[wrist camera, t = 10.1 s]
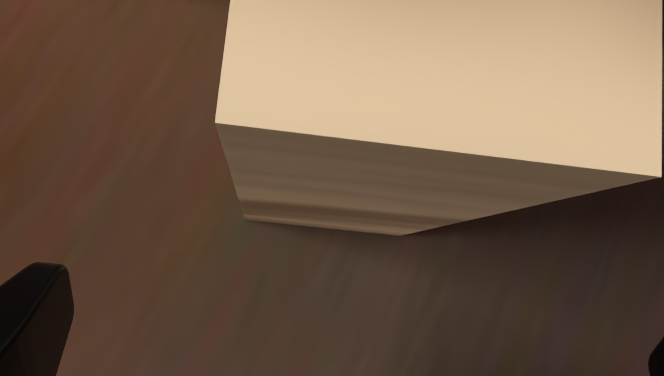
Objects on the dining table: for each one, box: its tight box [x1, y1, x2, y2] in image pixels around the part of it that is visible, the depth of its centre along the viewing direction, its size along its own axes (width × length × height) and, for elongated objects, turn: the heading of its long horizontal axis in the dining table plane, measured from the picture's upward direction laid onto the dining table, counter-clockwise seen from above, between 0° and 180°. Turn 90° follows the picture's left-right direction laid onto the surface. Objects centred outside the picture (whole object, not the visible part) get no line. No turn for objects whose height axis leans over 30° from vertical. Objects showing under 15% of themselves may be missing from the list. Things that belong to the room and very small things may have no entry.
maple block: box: [215, 0, 662, 236], centre depth 12 cm, size 5×5×12 cm
